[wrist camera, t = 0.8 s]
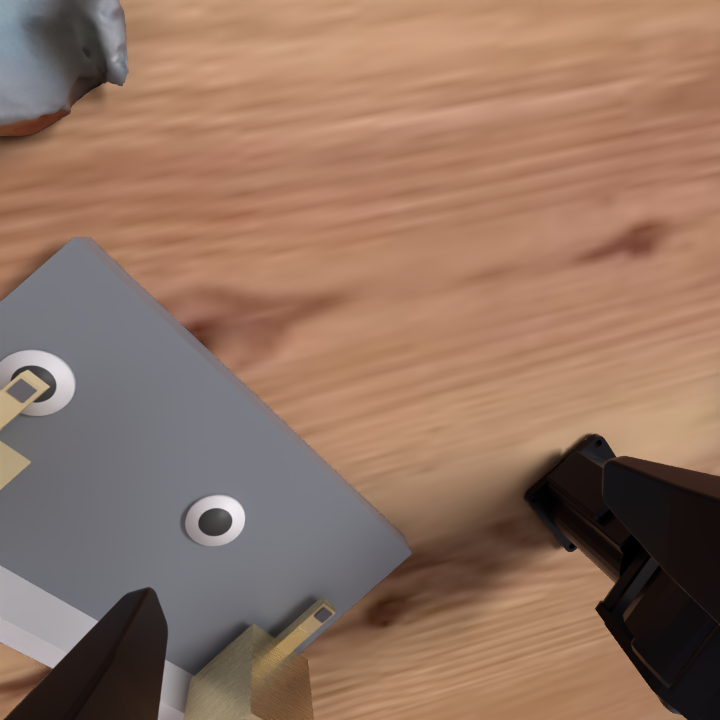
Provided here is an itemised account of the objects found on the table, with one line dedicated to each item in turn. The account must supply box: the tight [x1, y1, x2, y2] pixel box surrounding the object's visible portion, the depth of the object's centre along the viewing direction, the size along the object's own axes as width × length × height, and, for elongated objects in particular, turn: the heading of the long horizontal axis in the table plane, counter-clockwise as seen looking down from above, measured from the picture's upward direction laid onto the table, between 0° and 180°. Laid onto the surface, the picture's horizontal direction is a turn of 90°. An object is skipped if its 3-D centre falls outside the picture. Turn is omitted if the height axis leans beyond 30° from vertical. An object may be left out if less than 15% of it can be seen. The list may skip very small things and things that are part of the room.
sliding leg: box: [183, 596, 336, 720], centre depth 20 cm, size 4×8×4 cm, turn 130°
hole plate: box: [0, 237, 412, 720], centre depth 18 cm, size 23×15×6 cm, turn 40°
